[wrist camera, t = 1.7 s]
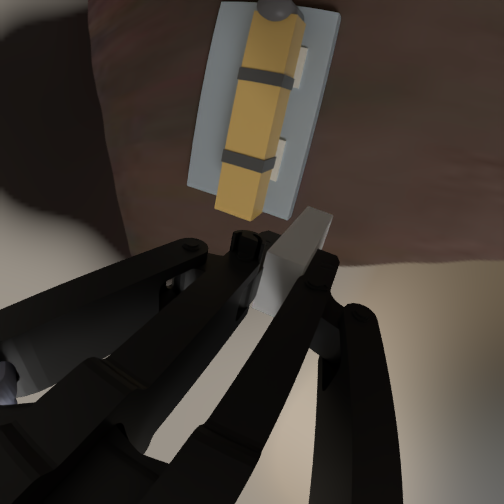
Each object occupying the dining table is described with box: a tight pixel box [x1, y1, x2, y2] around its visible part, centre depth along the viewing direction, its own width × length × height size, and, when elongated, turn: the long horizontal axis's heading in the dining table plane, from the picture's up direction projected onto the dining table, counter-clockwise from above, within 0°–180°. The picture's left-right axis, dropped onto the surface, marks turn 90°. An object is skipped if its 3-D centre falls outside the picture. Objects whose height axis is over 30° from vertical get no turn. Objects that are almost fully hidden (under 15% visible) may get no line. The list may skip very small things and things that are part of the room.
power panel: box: [187, 2, 341, 220], centre depth 29 cm, size 23×13×2 cm, turn 168°
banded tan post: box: [215, 0, 306, 221], centre depth 25 cm, size 22×4×5 cm, turn 168°
